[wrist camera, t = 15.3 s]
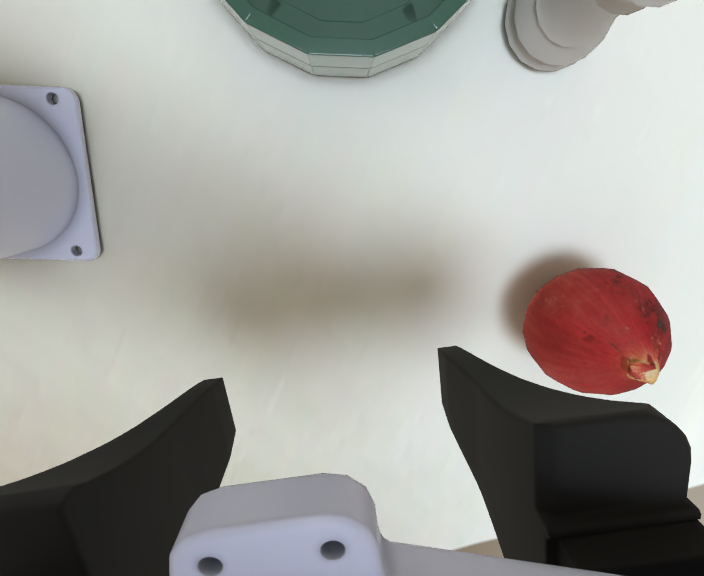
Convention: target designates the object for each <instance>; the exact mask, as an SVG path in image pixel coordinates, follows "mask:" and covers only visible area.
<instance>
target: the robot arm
mask: <svg viewBox="0 0 704 576" xmlns="http://www.w3.org/2000/svg"><path fill="white" fill-rule="evenodd" d="M54 94H56V95H57V97H58V103H57V104H54V103H53V101H52V96H53V95H54ZM76 246H79V247H80V248H81V250H82V254H79V253H78V252H77V251H76ZM100 254H101V248H100V241H99V234H98V227H97V220H96V213H95V206H94V199H93V192H92V185H91V178H90V171H89V164H88V157H87V150H86V143H85V136H84V129H83V122H82V115H81V108H80V101H79V98H78V95H77V94H76V93H75V92H74V91H73V90H71V89H68V88H64V87H47V86H21V85H0V259H44V260H87V261H89V260H94V259H96V258H97V257H99V255H100ZM438 359H439V371H440V383H441V395H442V404H443V407H444V410H445V413H446V416H447V419H448V422H449V425H450V428H451V430H452V432H453V434H454V436H455V439H456V441H457V443H458V445H459V447H460V449H461V451H462V453H463V455H464V457H465V459H466V461H467V463H468V465H469V467H470V469H471V471H472V473H473V475H474V477H475V480H476V482H477V484H478V486H479V489H480V491H481V493H482V496H483V498H484V501H485V504H486V507H487V510H488V512H489V515H490V518H491V521H492V523H493V526H494V529H495V532H496V535H497V538H498V541H499V544H500V547H501V549H502V553H503V555H504V558H499V557H493V556H486V555H479V554H472V553H465V552H459V551H452V550H445V549H438V548H431V547H425V546H418V545H411V544H404V543H397V542H391V541H388V540H386V539H385V538H384V537H383V536H382V534H381V533H380V530H379V527H378V523H377V516H376V509H375V504H374V502H373V500H372V498H371V496H370V494H369V492H368V490H367V488H366V486H364V485H362V484H361V483H359V482H357V481H356V480H354V479H352V478H351V477H349V476H348V475H339V474H327V473H321V474H313V475H306V476H298V477H291V478H283V479H276V480H268V481H261V482H253V483H246V484H238V485H231V486H223V487H220V484H221V481H222V479H223V476H224V473H225V470H226V468H227V465H228V462H229V459H230V456H231V451H232V447H233V442H234V437H235V432H236V429H235V425H234V421H233V417H232V413H231V409H230V405H229V401H228V397H227V393H226V389H225V385H224V381H223V378H216V379H208V380H204V381H202V382H200V383H198V384H197V385H195V386H194V387H192V388H191V389H189V390H188V391H186V392H185V393H183V394H182V395H181V396H179V397H178V398H177V399H175V400H174V401H172V402H171V403H170V404H168V405H167V406H165V407H164V408H163V409H161V410H160V411H158V412H157V413H155V414H154V415H152V416H151V417H149V418H148V419H146V420H145V421H143V422H142V423H140V424H139V425H137V426H136V427H134V428H132V429H131V430H129V431H127V432H126V433H124V434H122V435H121V436H119V437H117V438H115V439H113V440H112V441H110V442H108V443H106V444H104V445H102V446H100V447H98V448H96V449H94V450H92V451H90V452H88V453H86V454H83V455H81V456H79V457H77V458H75V459H73V460H71V461H68V462H66V463H64V464H61V465H59V466H56V467H54V468H52V469H49V470H46V471H44V472H41V473H39V474H36V475H33V476H31V477H28V478H25V479H22V480H19V481H16V482H13V483H10V484H7V485H4V486H0V576H704V526H703V525H702V524H701V523H700V522H699V521H698V520H697V519H700V518H701V513H700V510H699V509H698V508H697V507H696V506H695V505H694V504H693V503H692V502H691V501H690V500H689V499H688V498H687V491H688V482H689V474H690V466H691V447H690V445H689V442H688V440H687V437H686V435H685V434H684V433H683V432H682V431H681V430H680V429H679V428H678V426H676V425H675V424H674V423H673V422H671V421H670V420H669V419H668V418H666V417H665V416H664V415H663V414H661V413H660V412H659V411H657V410H656V409H655V408H654V407H652V406H651V405H650V404H646V403H634V402H622V401H611V400H603V399H597V398H591V397H585V396H580V395H575V394H570V393H566V392H562V391H558V390H554V389H550V388H547V387H544V386H540V385H538V384H535V383H532V382H529V381H526V380H523V379H521V378H518V377H516V376H514V375H512V374H509V373H507V372H505V371H503V370H501V369H499V368H497V367H495V366H493V365H491V364H489V363H487V362H485V361H483V360H481V359H480V358H478V357H476V356H474V355H473V354H471V353H469V352H467V351H465V350H464V349H462V348H460V347H458V346H451V347H443V348H438ZM219 487H220V488H219Z"/></svg>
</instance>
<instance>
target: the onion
mask: <svg viewBox="0 0 704 576" xmlns="http://www.w3.org/2000/svg"><path fill="white" fill-rule="evenodd" d="M523 334H524V338H525V342H526V346H527V350H528V352H529V353H530V355H531V356H532V357H533V359H534V360H535V361H536V363H537V364H538V365H539V366H540V368H541V369H542V370H543V371H544V373H545V374H546V375H548V376H549V377H551V378H552V379H554V380H556V381H557V382H559V383H561V384H563V385H565V386H567V387H569V388H571V389H573V390H576V391H579V392H582V393H594V394H606V395H614V394H620V393H623V392H627V391H631V390H634V389H637V388H639V387H640V386H642V385H644V384H646V383H649V384H653V383H655V382H656V380H657V377H658V375H659V372H660V371H661V370H662V369H663V367H664V366H665V363H666V361H667V359H668V357H669V354H670V352H671V347H672V342H671V330H670V321H669V318H668V315H667V314H666V312H665V311H664V309H663V308H662V306H661V305H660V303H659V301H658V300H657V298H656V297H655V295H654V294H653V293H652V291H651V290H650V289H649V288H648V287H647V286H646V285H644V284H642V283H641V282H639V281H637V280H635V279H633V278H631V277H629V276H627V275H625V274H623V273H621V272H619V271H617V270H615V269H606V268H588V269H576V270H573V271H570V272H567V273H565V274H562V275H559V276H556V277H555V278H553V279H552V280H551V281H550V282H548V283H547V284H546V285H544V286H543V287H542V288H540V289H539V290H538V291H537V292H536V294H535V295H534V297H533V298H532V300H531V301H530V303H529V304H528V306H527V310H526V315H525V320H524V325H523Z"/></svg>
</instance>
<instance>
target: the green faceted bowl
mask: <svg viewBox="0 0 704 576" xmlns="http://www.w3.org/2000/svg"><path fill="white" fill-rule="evenodd" d="M220 1H221V2H222V4H223V5H224V6H225V7H226V8H227V10H228V11H229V12H230V13H231V14H232V15H233V16H234V17H235V19H236V20H237V21H238V22H239V23H240V24H241V25H242V26H243V28H244V29H245V30H246V31H247V32H248V33H249V34H250V35H251V36H252V38H253V39H254V40H255V41H256V42H257V43H258V44H259V45H260V47H261V48H263V49H264V50H265V51H266V52H268V53H270V54H272V55H274V56H276V57H278V58H280V59H282V60H285V61H287V62H289V63H291V64H293V65H295V66H297V67H299V68H301V69H303V70H305V71H307V72H309V73H311V74H313V75H314V74H315V75H326V76H351V77H369V76H372V75H374V74H377V73H379V72H382V71H384V70H386V69H389V68H391V67H394V66H396V65H399V64H401V63H404V62H406V61H408V60H411V59H413V58H416V57H417V56H419V55H420V54H421V53H422V52H423V51H424V50H425V49H426V48H427V47H428V46H429V45H430V44H431V43H432V42H433V41H434V40H435V39H436V38H437V37H438V36H439V35H440V34H441V33H442V32H443V31H444V30H445V29H446V28H447V27H448V26H449V25H450V24H451V23H452V22H453V21H454V20H455V19H456V18H457V17H458V16H459V14H460V13H461V12H462V11H463V10H464V8H465V7H466V6H467V5H468V4H469V2H470V1H471V0H220Z"/></svg>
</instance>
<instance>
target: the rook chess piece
mask: <svg viewBox="0 0 704 576" xmlns="http://www.w3.org/2000/svg"><path fill="white" fill-rule="evenodd" d="M674 1H676V0H509V1H508V3H507V12H506V20H505V28H506V32H507V36H508V40H509V45H510V47H511V48H512V49H513V51H514V52H515V54H516V55H517V56H518V58H519V59H520V61H522V62H523V63H525V64H527V65H529V66H531V67H532V68H534V69H536V70H546V71H557V70H559V69H562V68H564V67H567V66H570V65H572V64H574V63H575V62H577V61H578V60H580V59H582V58H584V57H586V56H587V55H588V54H589V53H590V52H591V51H592V50H593V49H594V48H595V47H597V46H598V45H599V44H600V43H601V42H602V41H603V39H604V38H605V36H606V34H607V32H608V31H609V29H610V27H611V25H612V23H613V22H614V20H615V18H616V17H617V16H619V15H629V14H631V13H634V12H636V11H639V10H641V9H644V8H645V7H661V6H664V5H666V4H669V3H671V2H674Z"/></svg>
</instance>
